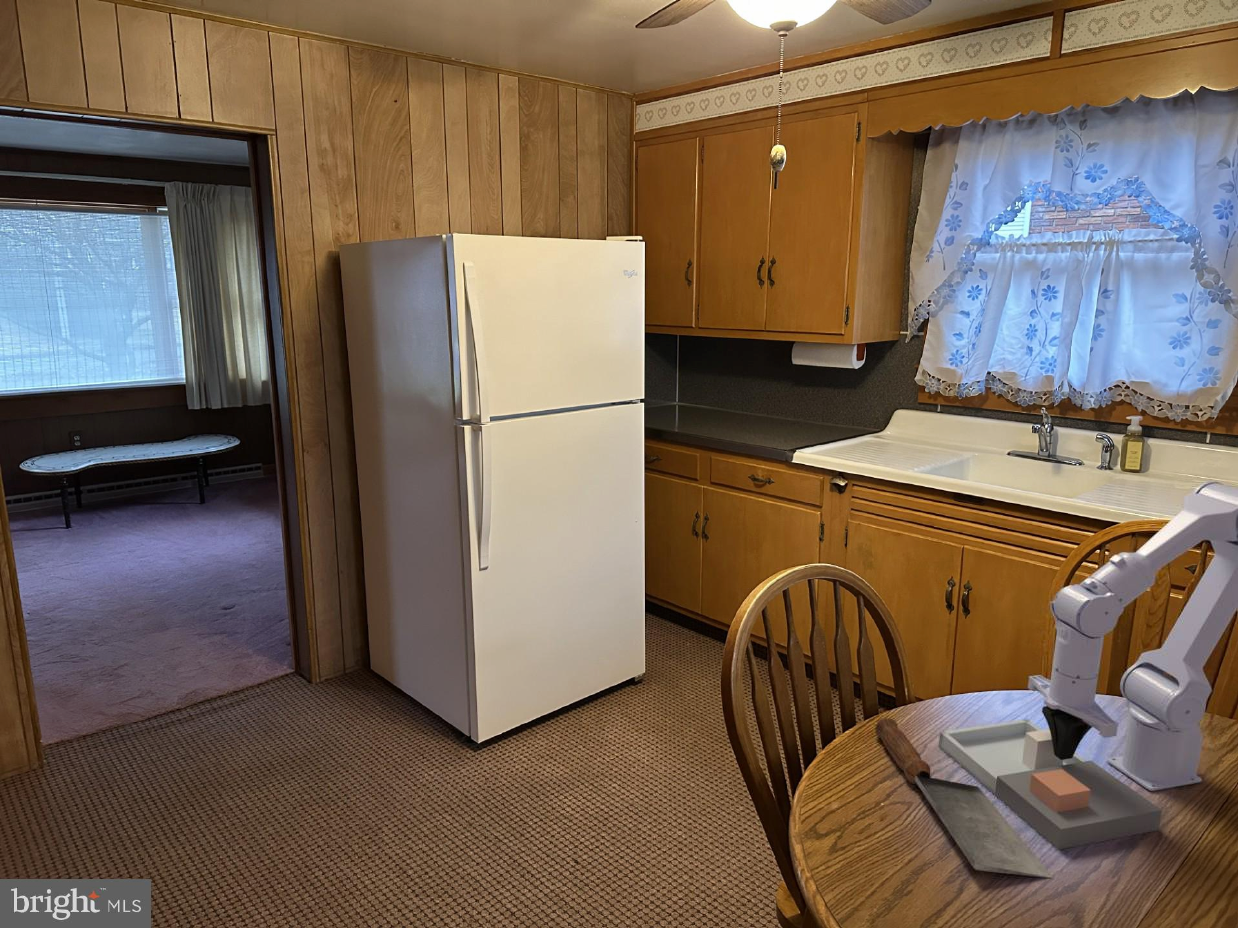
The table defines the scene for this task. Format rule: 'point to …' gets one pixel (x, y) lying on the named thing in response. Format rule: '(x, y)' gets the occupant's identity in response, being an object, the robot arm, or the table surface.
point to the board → (1103, 819)
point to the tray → (991, 749)
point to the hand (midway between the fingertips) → (1063, 756)
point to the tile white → (1039, 751)
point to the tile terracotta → (1059, 790)
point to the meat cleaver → (964, 813)
